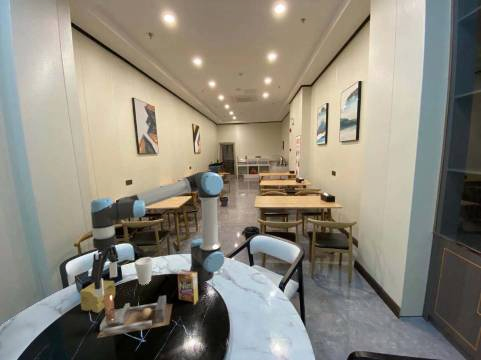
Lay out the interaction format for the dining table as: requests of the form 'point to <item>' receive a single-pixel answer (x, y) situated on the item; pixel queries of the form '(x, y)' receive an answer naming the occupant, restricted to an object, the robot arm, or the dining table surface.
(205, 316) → the dining table surface
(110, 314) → the ram
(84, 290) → the cheese
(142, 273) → the foam cup
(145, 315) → the nut
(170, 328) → the dining table surface
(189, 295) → the candy box
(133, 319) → the board
